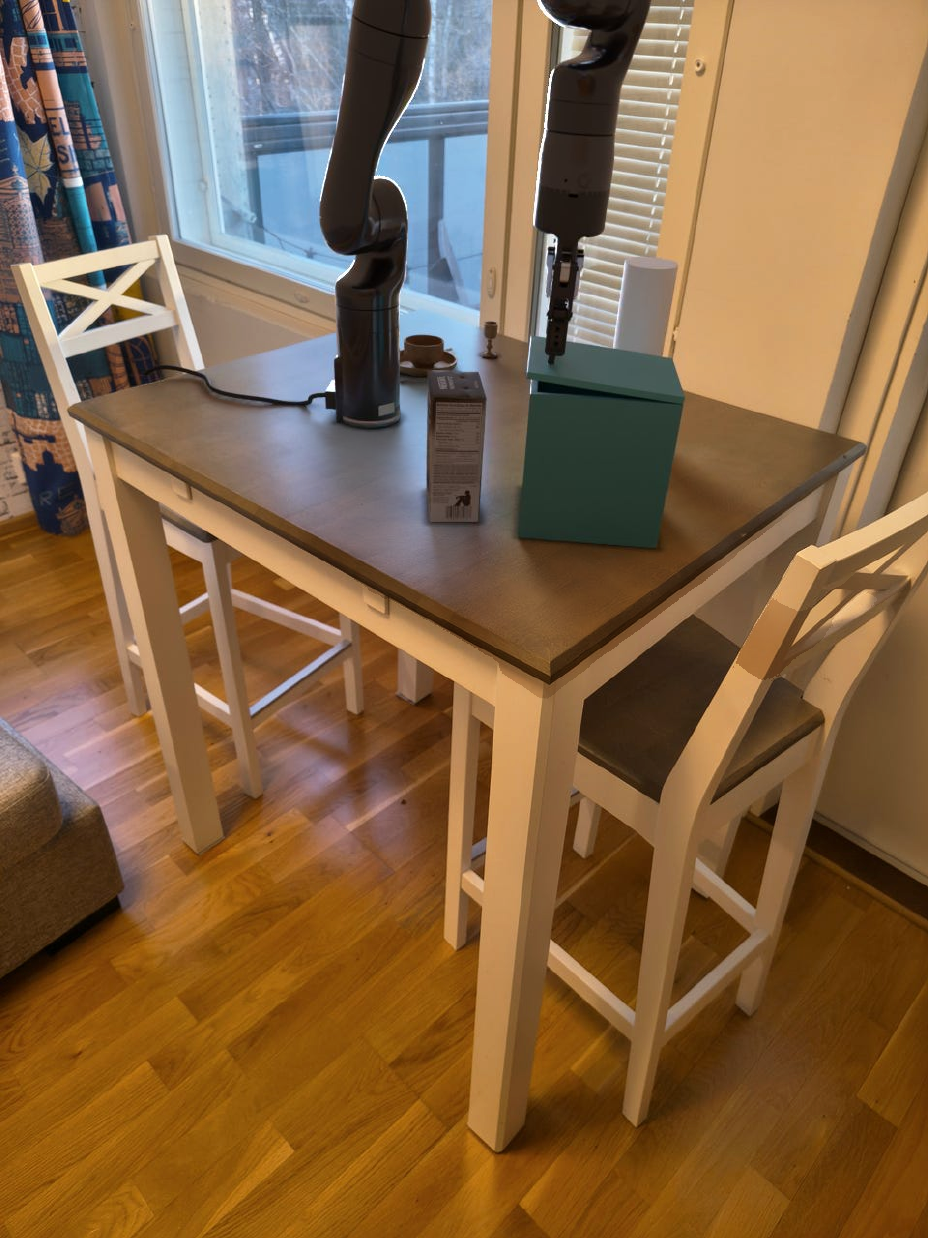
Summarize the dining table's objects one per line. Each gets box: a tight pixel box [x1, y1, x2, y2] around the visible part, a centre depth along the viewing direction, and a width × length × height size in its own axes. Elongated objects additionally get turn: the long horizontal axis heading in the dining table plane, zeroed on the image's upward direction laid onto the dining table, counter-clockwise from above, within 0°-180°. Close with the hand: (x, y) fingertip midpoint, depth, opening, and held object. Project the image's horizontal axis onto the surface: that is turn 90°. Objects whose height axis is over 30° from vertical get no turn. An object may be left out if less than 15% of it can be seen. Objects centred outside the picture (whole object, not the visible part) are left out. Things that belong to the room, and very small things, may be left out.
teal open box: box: [517, 380, 684, 549], centre depth 107 cm, size 17×14×18 cm
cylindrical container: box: [612, 256, 679, 357], centre depth 127 cm, size 7×7×25 cm
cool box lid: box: [525, 334, 686, 405], centre depth 100 cm, size 17×14×5 cm
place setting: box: [400, 320, 499, 382], centre depth 155 cm, size 18×20×6 cm
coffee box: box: [425, 370, 488, 523], centre depth 108 cm, size 9×6×16 cm
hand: (554, 344), depth 100 cm, fingers closed on cool box lid, 6 cm apart
